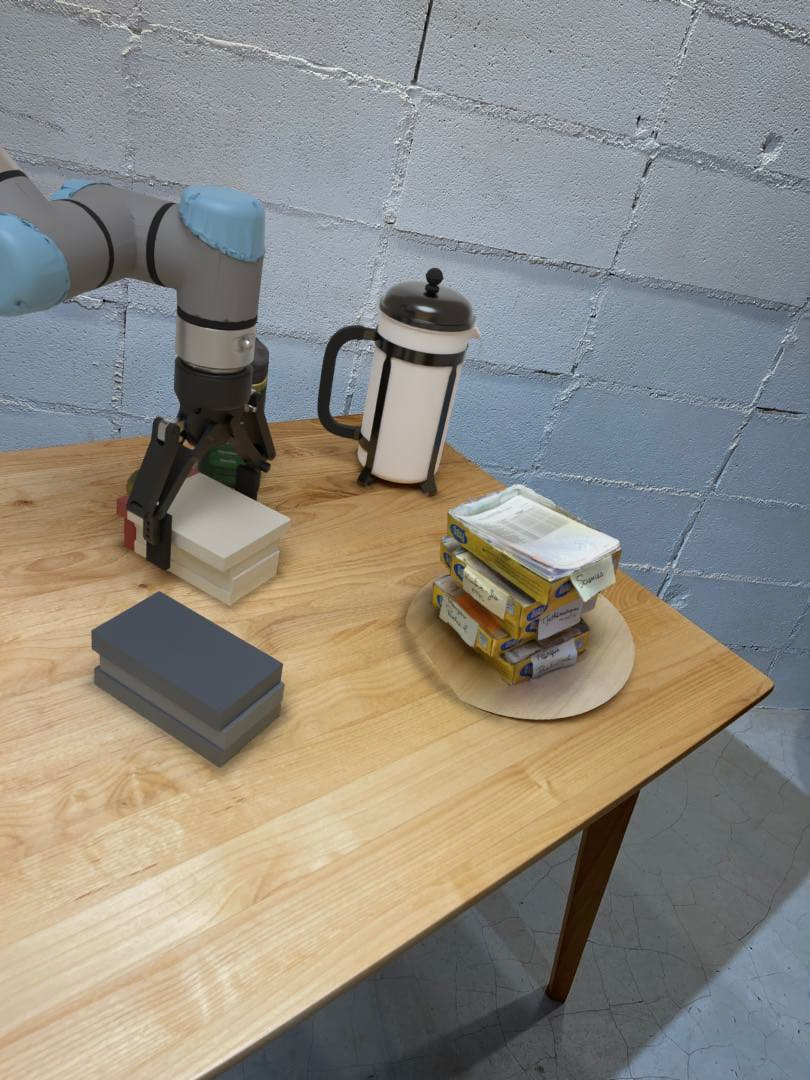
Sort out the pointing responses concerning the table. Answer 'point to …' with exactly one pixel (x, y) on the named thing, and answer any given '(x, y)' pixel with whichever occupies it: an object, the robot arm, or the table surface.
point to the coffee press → (406, 380)
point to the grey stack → (188, 676)
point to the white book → (217, 522)
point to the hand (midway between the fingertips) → (203, 539)
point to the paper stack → (524, 609)
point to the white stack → (206, 576)
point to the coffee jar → (223, 457)
